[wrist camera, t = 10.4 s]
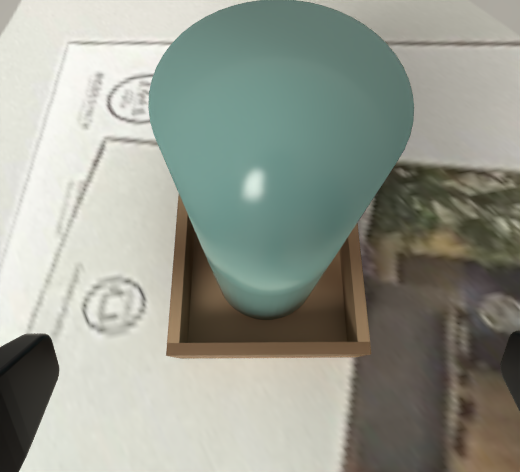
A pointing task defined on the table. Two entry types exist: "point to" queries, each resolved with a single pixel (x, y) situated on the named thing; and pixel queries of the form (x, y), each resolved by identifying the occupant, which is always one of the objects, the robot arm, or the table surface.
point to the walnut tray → (264, 331)
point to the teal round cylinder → (278, 141)
